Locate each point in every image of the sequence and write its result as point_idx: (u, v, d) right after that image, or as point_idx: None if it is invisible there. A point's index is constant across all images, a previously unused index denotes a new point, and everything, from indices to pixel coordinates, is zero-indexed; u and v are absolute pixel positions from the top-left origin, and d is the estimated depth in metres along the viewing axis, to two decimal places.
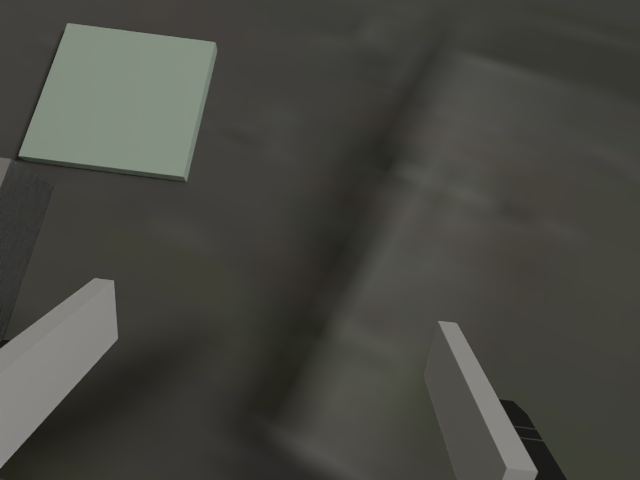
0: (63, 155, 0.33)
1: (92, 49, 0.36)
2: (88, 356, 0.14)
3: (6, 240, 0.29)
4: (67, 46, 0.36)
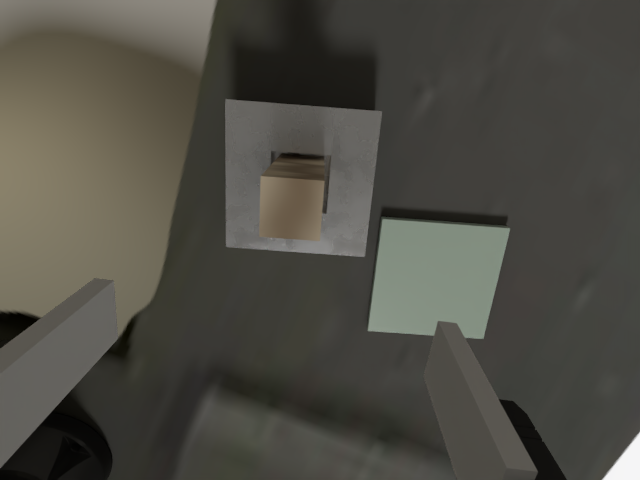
0: (383, 250, 0.43)
1: (481, 252, 0.43)
2: (88, 355, 0.14)
3: None
4: (485, 233, 0.42)
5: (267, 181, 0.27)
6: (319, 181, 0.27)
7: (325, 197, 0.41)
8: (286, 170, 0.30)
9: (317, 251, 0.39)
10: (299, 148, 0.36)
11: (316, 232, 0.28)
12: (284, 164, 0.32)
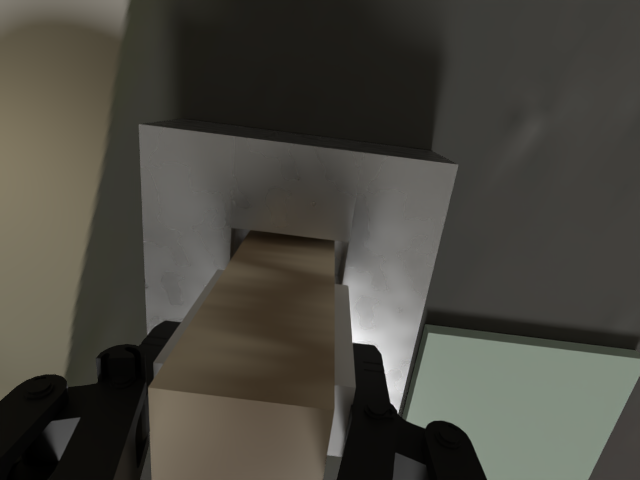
0: (424, 380, 0.26)
1: (590, 393, 0.26)
2: None
3: None
4: (603, 364, 0.25)
5: (168, 401, 0.09)
6: (319, 411, 0.09)
7: None
8: (242, 321, 0.12)
9: None
10: (286, 225, 0.18)
11: None
12: (248, 278, 0.15)
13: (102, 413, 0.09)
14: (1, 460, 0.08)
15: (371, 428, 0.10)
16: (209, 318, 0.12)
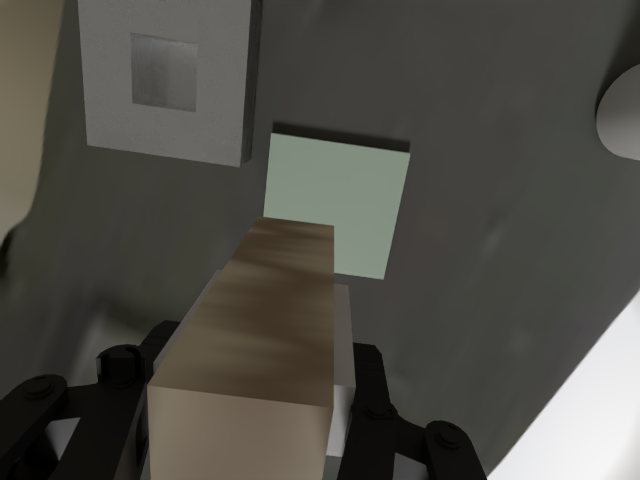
0: (273, 170, 0.40)
1: (379, 180, 0.40)
2: None
3: None
4: (384, 157, 0.39)
5: (167, 399, 0.09)
6: (318, 409, 0.09)
7: None
8: (241, 319, 0.12)
9: (187, 157, 0.35)
10: (161, 30, 0.32)
11: None
12: (247, 276, 0.15)
13: (102, 413, 0.09)
14: (1, 460, 0.08)
15: (371, 428, 0.10)
16: (208, 316, 0.12)
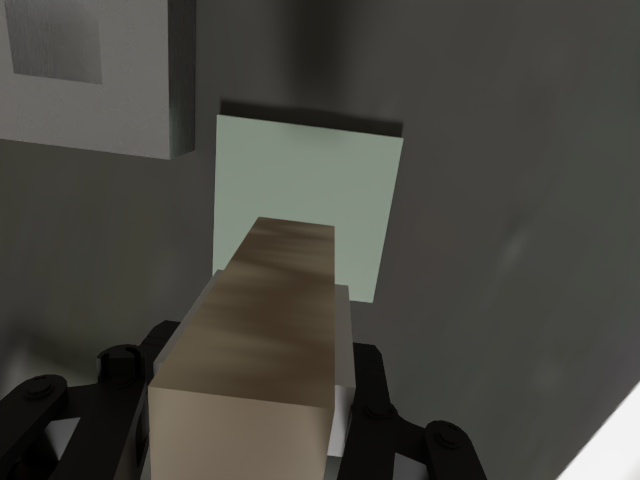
0: (222, 164, 0.30)
1: (363, 174, 0.30)
2: None
3: None
4: (368, 144, 0.29)
5: (168, 400, 0.09)
6: (319, 410, 0.09)
7: None
8: (242, 320, 0.12)
9: (97, 147, 0.26)
10: None
11: None
12: (248, 277, 0.15)
13: (102, 413, 0.09)
14: (1, 460, 0.08)
15: (371, 428, 0.10)
16: (209, 317, 0.12)
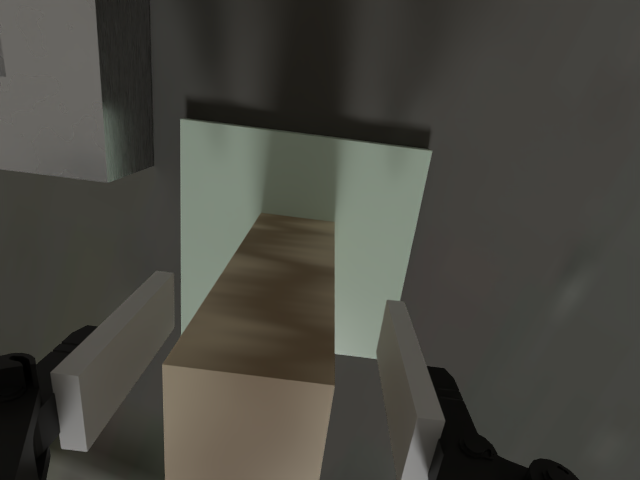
0: (190, 185, 0.23)
1: (377, 198, 0.22)
2: (154, 341, 0.15)
3: None
4: (384, 159, 0.22)
5: (181, 377, 0.10)
6: (320, 386, 0.10)
7: None
8: (247, 307, 0.13)
9: (6, 165, 0.18)
10: None
11: None
12: (252, 268, 0.16)
13: None
14: None
15: (466, 466, 0.09)
16: (216, 304, 0.13)
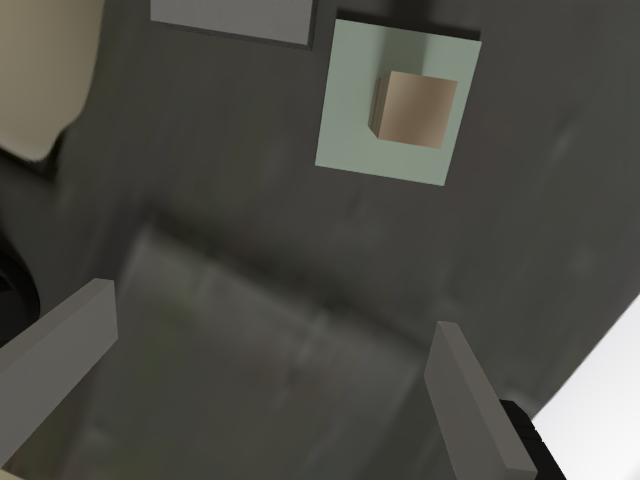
0: (335, 61, 0.38)
1: (446, 72, 0.38)
2: (88, 355, 0.14)
3: (249, 38, 0.36)
4: (453, 46, 0.37)
5: (397, 77, 0.25)
6: (452, 81, 0.25)
7: None
8: None
9: (253, 33, 0.34)
10: None
11: (439, 139, 0.27)
12: None
13: None
14: None
15: None
16: None
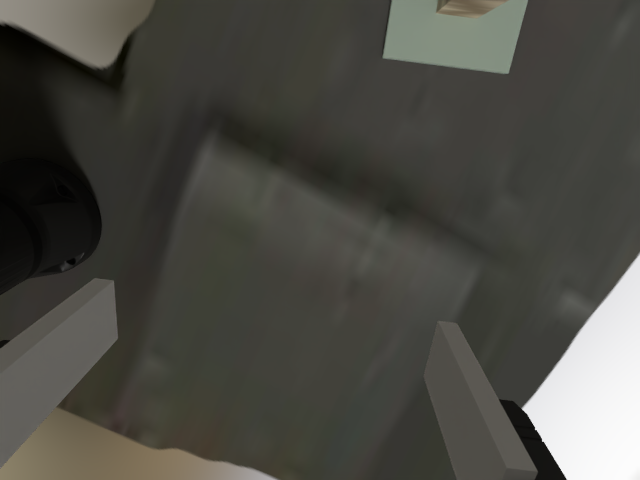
0: None
1: None
2: (88, 355, 0.14)
3: None
4: None
5: None
6: None
7: None
8: None
9: None
10: None
11: None
12: None
13: None
14: None
15: None
16: None
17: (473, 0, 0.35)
